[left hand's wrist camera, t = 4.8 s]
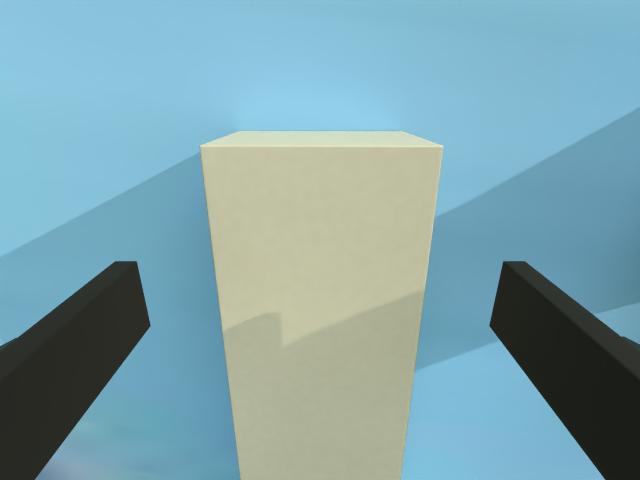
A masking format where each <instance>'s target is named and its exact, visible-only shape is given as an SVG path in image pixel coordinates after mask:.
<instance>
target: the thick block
mask: <svg viewBox="0 0 640 480" xmlns="http://www.w3.org/2000/svg"><path fill="white" fill-rule="evenodd" d="M442 153H443V146H442V145H439V144H436V143H433V142H431V141H428V140H425V139H423V138H420V137H417V136H414V135H412V134H409V133H406V132H403V131H239V132H236V133H233V134H230V135H228V136H225V137H222V138H219V139H217V140H214V141H211V142H208V143H206V144H203V145H200V155H201V163H202V171H203V179H204V187H205V195H206V203H207V211H208V219H209V228H210V236H211V244H212V252H213V260H214V268H215V276H216V284H217V292H218V301H219V309H220V317H221V325H222V333H223V341H224V349H225V357H226V365H227V374H228V382H229V390H230V398H231V406H232V414H233V422H234V430H235V438H236V447H237V455H238V463H239V471H240V479H241V480H401V472H402V464H403V457H404V449H405V441H406V433H407V426H408V418H409V410H410V402H411V394H412V387H413V379H414V371H415V363H416V355H417V348H418V340H419V332H420V324H421V317H422V309H423V301H424V293H425V285H426V278H427V270H428V262H429V254H430V247H431V239H432V231H433V223H434V215H435V208H436V200H437V192H438V184H439V177H440V169H441V161H442Z"/></svg>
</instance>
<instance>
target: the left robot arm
mask: <svg viewBox="0 0 640 480" xmlns="http://www.w3.org/2000/svg"><path fill="white" fill-rule="evenodd" d="M149 327H150V321H149V316H148V312H147V307H146V303H145V298H144V293H143V289H142V284H141V279H140V275H139V270H138V265H137V261H115V262H114V263H113V264H111V265H110V266H109V267H107V268H106V269H105V270H104V271H102V272H101V273H100V274H98V275H97V276H96V277H95V278H93V279H92V280H91V281H90V282H88V283H87V284H86V285H84V286H83V287H82V288H81V289H79V290H78V291H77V292H76V293H74V294H73V295H72V296H70V297H69V298H68V299H67V300H65V301H64V302H63V303H61V304H60V305H59V306H58V307H56V308H55V309H54V310H53V311H51V312H50V313H49V314H47V315H46V316H45V317H44V318H42V319H41V320H40V321H38V322H37V323H36V324H35V325H33V326H32V327H31V328H30V329H28V330H27V331H26V332H24V333H23V334H22V335H21V336H19V337H18V338H15V339H13V340H11V341H9V342H7V343H6V344H4V345H2V346H0V480H35V479H36V477H37V476H38V475H39V473H40V472H41V471H42V469H43V468H44V467H45V465H46V464H47V463H48V461H49V460H50V459H51V457H52V456H53V455H54V453H55V452H56V451H57V449H58V448H59V447H60V445H61V444H62V443H63V441H64V440H65V439H66V437H67V436H68V435H69V433H70V432H71V431H72V429H73V428H74V427H75V425H76V424H77V423H78V421H79V420H80V419H81V417H82V416H83V415H84V414H85V412H86V411H87V410H88V408H89V407H90V406H91V404H92V403H93V402H94V400H95V399H96V398H97V396H98V395H99V394H100V392H101V391H102V390H103V388H104V387H105V386H106V384H107V383H108V382H109V380H110V379H111V378H112V376H113V375H114V374H115V372H116V371H117V370H118V368H119V367H120V366H121V364H122V363H123V362H124V360H125V359H126V358H127V356H128V355H129V354H130V352H131V351H132V350H133V348H134V347H135V346H136V345H137V343H138V342H139V341H140V339H141V338H142V337H143V335H144V334H145V333H146V331H147V330H148V329H149ZM490 327H491V329H492V330H493V331H494V333H495V334H496V335H497V337H498V338H499V339H500V341H501V342H502V343H503V345H504V346H505V347H506V348H507V350H508V351H509V352H510V354H511V355H512V356H513V358H514V359H515V360H516V362H517V363H518V364H519V366H520V367H521V368H522V370H523V371H524V372H525V374H526V375H527V376H528V378H529V379H530V380H531V382H532V383H533V384H534V386H535V387H536V388H537V390H538V391H539V392H540V394H541V395H542V396H543V398H544V399H545V400H546V402H547V403H548V404H549V406H550V407H551V408H552V410H553V411H554V412H555V414H556V415H557V416H558V417H559V419H560V420H561V421H562V423H563V424H564V425H565V427H566V428H567V429H568V431H569V432H570V433H571V435H572V436H573V437H574V439H575V440H576V441H577V443H578V444H579V445H580V447H581V448H582V449H583V451H584V452H585V453H586V455H587V456H588V457H589V459H590V460H591V461H592V463H593V464H594V465H595V467H596V468H597V469H598V471H599V472H600V473H601V475H602V476H603V477H604V479H605V480H640V345H639V344H637V343H635V342H634V341H632V340H630V339H628V338H626V337H621V336H619V335H618V334H617V333H616V332H614V331H613V330H612V329H610V328H609V327H608V326H607V325H605V324H604V323H603V322H602V321H600V320H599V319H598V318H596V317H595V316H594V315H593V314H591V313H590V312H589V311H587V310H586V309H585V308H584V307H582V306H581V305H580V304H579V303H577V302H576V301H575V300H573V299H572V298H571V297H570V296H568V295H567V294H566V293H564V292H563V291H562V290H561V289H559V288H558V287H557V286H556V285H554V284H553V283H552V282H550V281H549V280H548V279H547V278H545V277H544V276H543V275H542V274H540V273H539V272H538V271H536V270H535V269H534V268H533V267H531V266H530V265H529V264H527V263H526V262H525V261H503V265H502V270H501V275H500V279H499V284H498V289H497V293H496V298H495V303H494V307H493V312H492V316H491V321H490Z"/></svg>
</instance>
